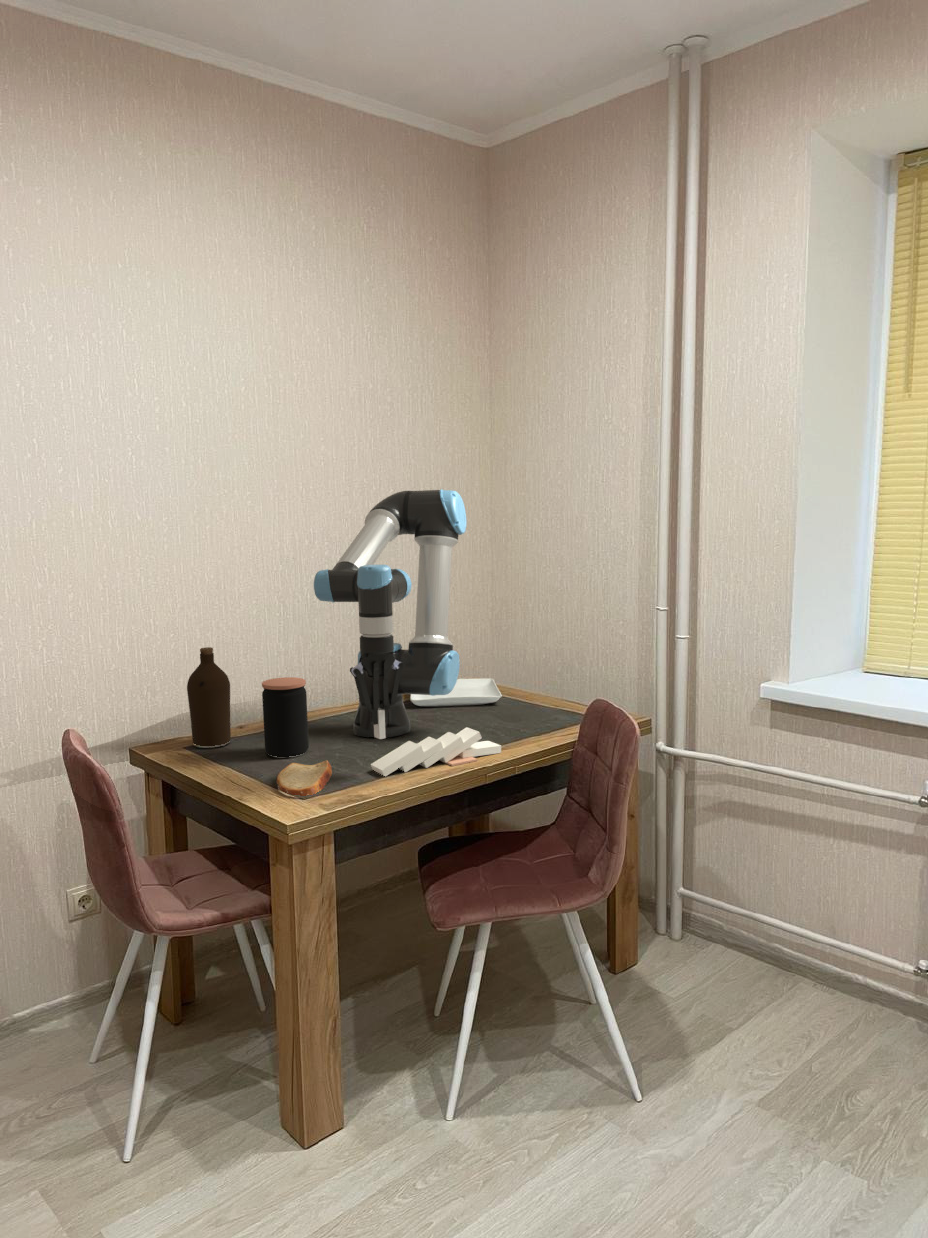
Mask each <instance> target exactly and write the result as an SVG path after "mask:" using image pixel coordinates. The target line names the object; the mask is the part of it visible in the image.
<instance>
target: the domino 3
mask: <svg viewBox="0 0 928 1238" xmlns="http://www.w3.org/2000/svg"><path fill="white" fill-rule="evenodd" d="M436 740H438V741H441V743H442V746H443V749H441V750H440V751H438V752H437V753H435V754H434V755H432V756H430V757H429V758H427V759H426V760H424V761H423V762H421V763H419V764H418V765H419V766H420V767H423V768H425V769H427V768H429V767H431V766H432V765H433V764H435V763H436V762H438V761H439V759H441V758H442V757H444V756H445V755H447V754H448V753H450V752H451V751H453V750H454V749H456V748H457V747H459V746H460V745H461V744H463V741H462V738H461V737H460V736H458V735H456V733H453V732H451V731H447V732H446V733H445V734H442V735H441V736H440V737H438V738H436Z"/></svg>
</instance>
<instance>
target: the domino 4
mask: <svg viewBox="0 0 928 1238" xmlns="http://www.w3.org/2000/svg"><path fill="white" fill-rule="evenodd" d="M455 735H458V736H460V737H461V738H462V741H463V744H461V745H460V746H459V747H457V748H456V749H454V750H453V751H451V752H450V753H448V754H447V755H445V756H444V757H442V758H441V759H439V760H441V761H440V762H442V761H443V762H442V763H444V762H445V763H444V764H446V763H447V762H448V761H450V760H451V759H453V758H454V757H456V756H457V755H458V754H460V753H461V752H463V751H464V750H466V749H467V748H468V747H470V746H471V745H473V744H474V743H476V742H479V741H480V740H481V739H482V738H483V737H482V735H481V732H480V731H478V730H477V729H476V730H475V729H472V728H470V727H467V726H466V727H464V728H463V729H461V730H460V731H459V732H457V733H455ZM439 760H438V761H439Z"/></svg>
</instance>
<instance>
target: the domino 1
mask: <svg viewBox="0 0 928 1238" xmlns="http://www.w3.org/2000/svg"><path fill="white" fill-rule="evenodd" d="M422 753H424V752H423V749H422V747H421V746H420V745H418V743H416V742H413V741H411V740H408V741H405V742H404V743H403V744H401V745H399V747H396V748H394V749H393V750H392V751H390V752H389V753H387V754H385V755H383V756H382V757H380V758H379V759H377V760H375V761H374V762H372V763H370V766H371V769H372V771H373V770H374V771H376V772H378V773H380V774H381V775H380V774H379V775H380V776H382V775H383V776H382V777H384V776H385V777H387V776H388V775H391V774H392V773H393V772H395V771H397V770H399V769H398V768H400V767H401V766H403V765H405V764H406V763H408V762H409V761H411V760H413V759H414V758H416V757H417V756H419V755H421V754H422ZM374 771H373V772H374ZM376 772H375V773H376ZM378 773H377V774H378Z"/></svg>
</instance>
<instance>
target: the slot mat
mask: <svg viewBox="0 0 928 1238" xmlns="http://www.w3.org/2000/svg"><path fill="white" fill-rule="evenodd" d="M438 761H439V762H442V763H444V764H446V765H447V766H451V767H455V766H459V765H460V766H461V765H465V764H470V763H474V762H478V759H477V758H476V757H475V756H474V757H467V758H462V757H459V756H456V757H454V758H453V759H451V760H450V761H448V762H447V763H445V762H443V761H441V760H438ZM469 762H470V763H469Z"/></svg>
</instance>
